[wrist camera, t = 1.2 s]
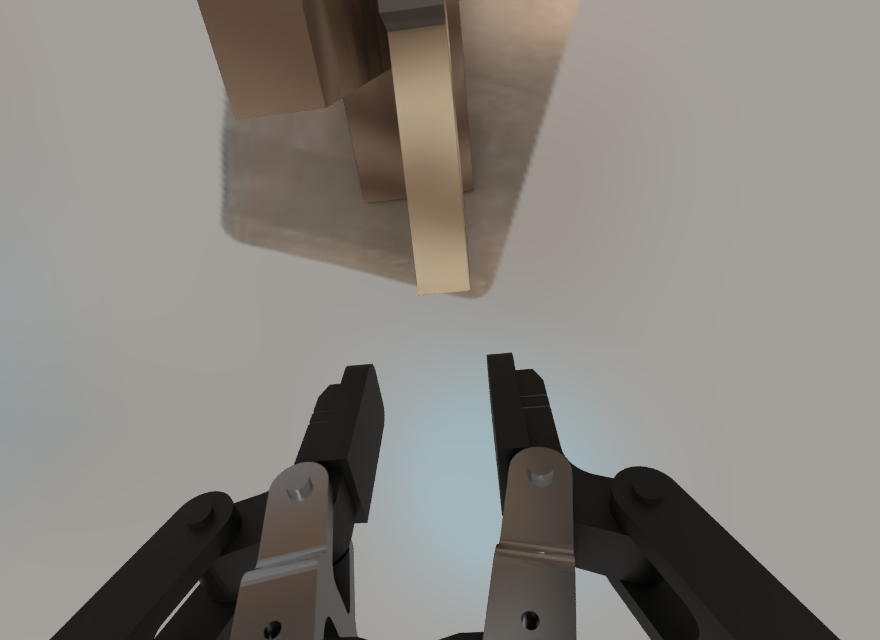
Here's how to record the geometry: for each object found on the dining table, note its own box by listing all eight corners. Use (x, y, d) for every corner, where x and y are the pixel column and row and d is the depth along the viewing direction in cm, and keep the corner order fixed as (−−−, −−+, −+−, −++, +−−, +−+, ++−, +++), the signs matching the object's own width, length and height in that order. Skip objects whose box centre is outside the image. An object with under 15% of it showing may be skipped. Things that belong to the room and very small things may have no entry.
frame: (402, -85, 33) (327, -417, 15) (437, -91, 32) (403, -434, 15) (438, 259, 38) (414, 303, 21) (468, 255, 38) (470, 298, 21)
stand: (282, -221, 33) (-458, -1326, 6) (438, -250, 32) (369, -1686, 5) (366, 198, 48) (262, 405, 22) (473, 186, 48) (500, 386, 21)
